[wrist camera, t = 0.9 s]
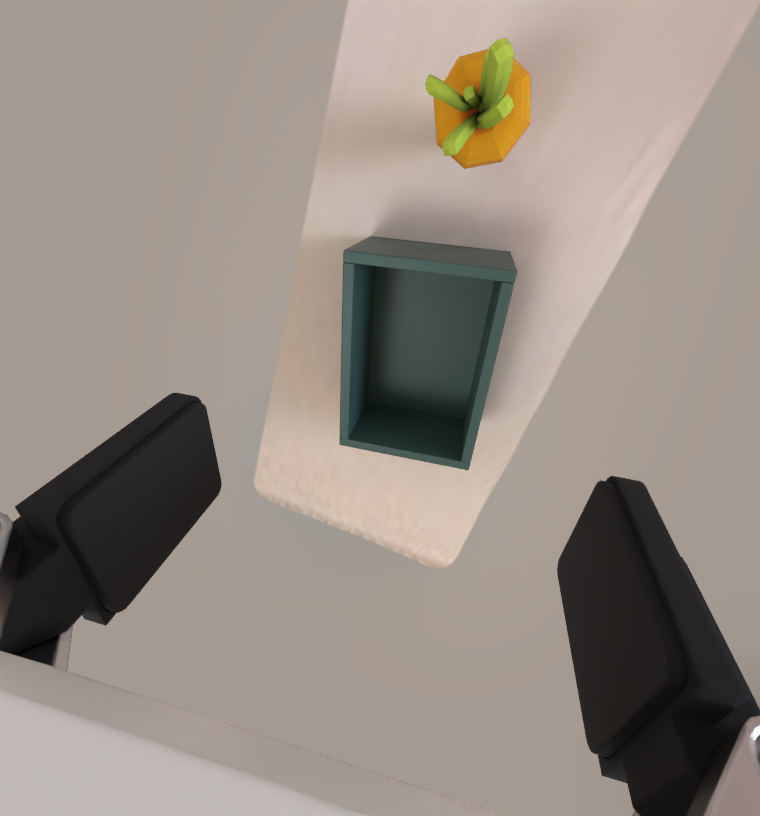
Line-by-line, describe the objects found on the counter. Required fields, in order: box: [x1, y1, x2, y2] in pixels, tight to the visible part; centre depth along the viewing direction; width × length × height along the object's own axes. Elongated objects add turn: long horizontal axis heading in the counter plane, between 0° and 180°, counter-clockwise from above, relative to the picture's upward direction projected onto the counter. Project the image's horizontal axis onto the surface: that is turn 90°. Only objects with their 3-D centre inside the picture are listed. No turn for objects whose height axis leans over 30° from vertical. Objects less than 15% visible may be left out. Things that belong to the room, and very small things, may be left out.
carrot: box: [426, 38, 531, 169], centre depth 22 cm, size 5×5×15 cm
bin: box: [340, 236, 517, 470], centre depth 33 cm, size 17×12×8 cm
